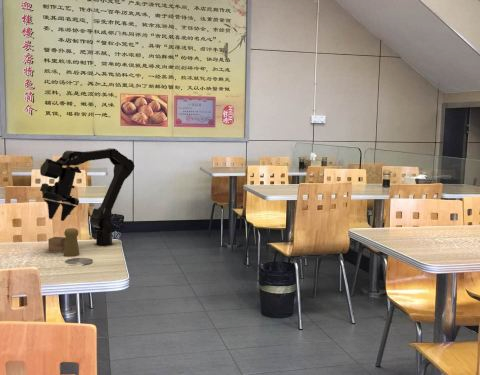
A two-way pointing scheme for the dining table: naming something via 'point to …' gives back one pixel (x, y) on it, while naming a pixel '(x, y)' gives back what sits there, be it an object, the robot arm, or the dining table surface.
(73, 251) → the brown rounded piece
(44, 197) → the robot arm
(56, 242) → the walnut cube
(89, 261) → the coaster empty
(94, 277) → the dining table surface
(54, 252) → the coaster
